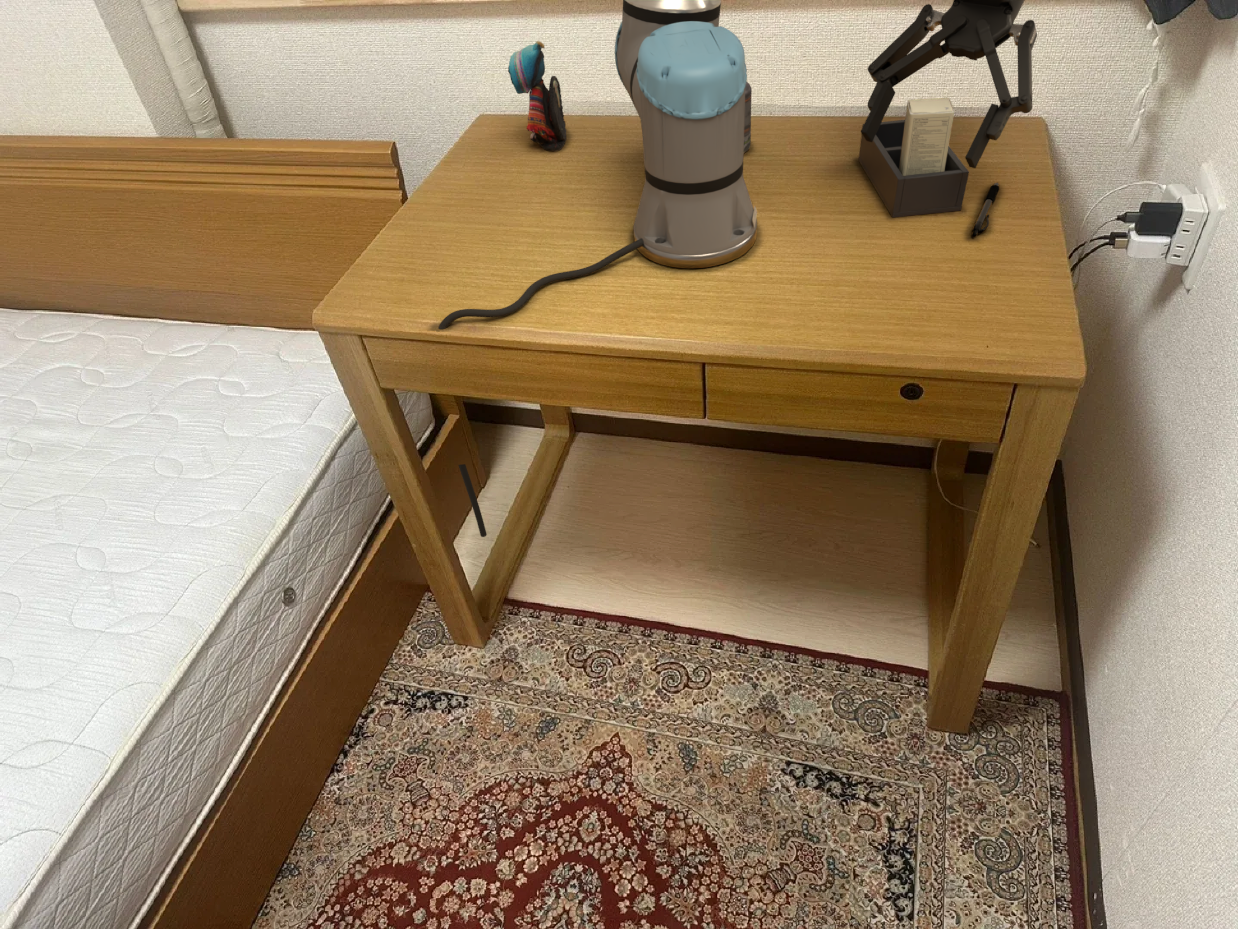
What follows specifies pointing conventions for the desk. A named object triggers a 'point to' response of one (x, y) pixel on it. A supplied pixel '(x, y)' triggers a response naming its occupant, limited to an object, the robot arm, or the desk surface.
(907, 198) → the holder
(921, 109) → the box
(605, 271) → the desk surface
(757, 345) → the desk surface
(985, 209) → the pen
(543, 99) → the figurine
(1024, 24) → the robot arm
